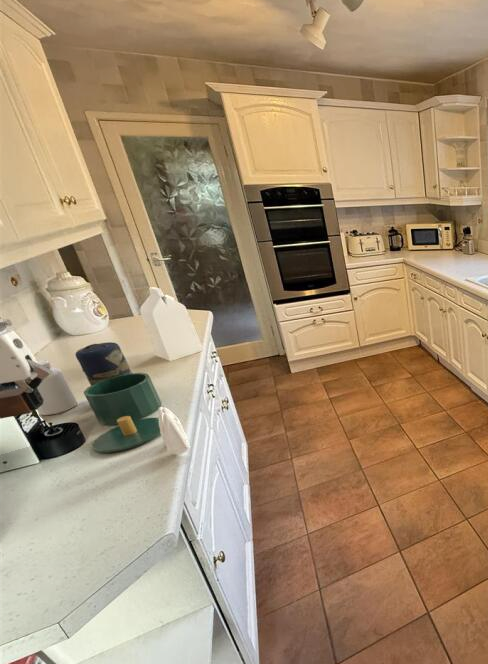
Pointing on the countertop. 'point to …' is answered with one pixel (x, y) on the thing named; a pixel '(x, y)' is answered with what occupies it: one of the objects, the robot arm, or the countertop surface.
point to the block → (13, 403)
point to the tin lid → (127, 434)
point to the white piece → (172, 432)
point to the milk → (169, 326)
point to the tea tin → (123, 398)
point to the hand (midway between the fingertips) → (20, 409)
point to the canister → (102, 362)
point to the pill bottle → (54, 392)
